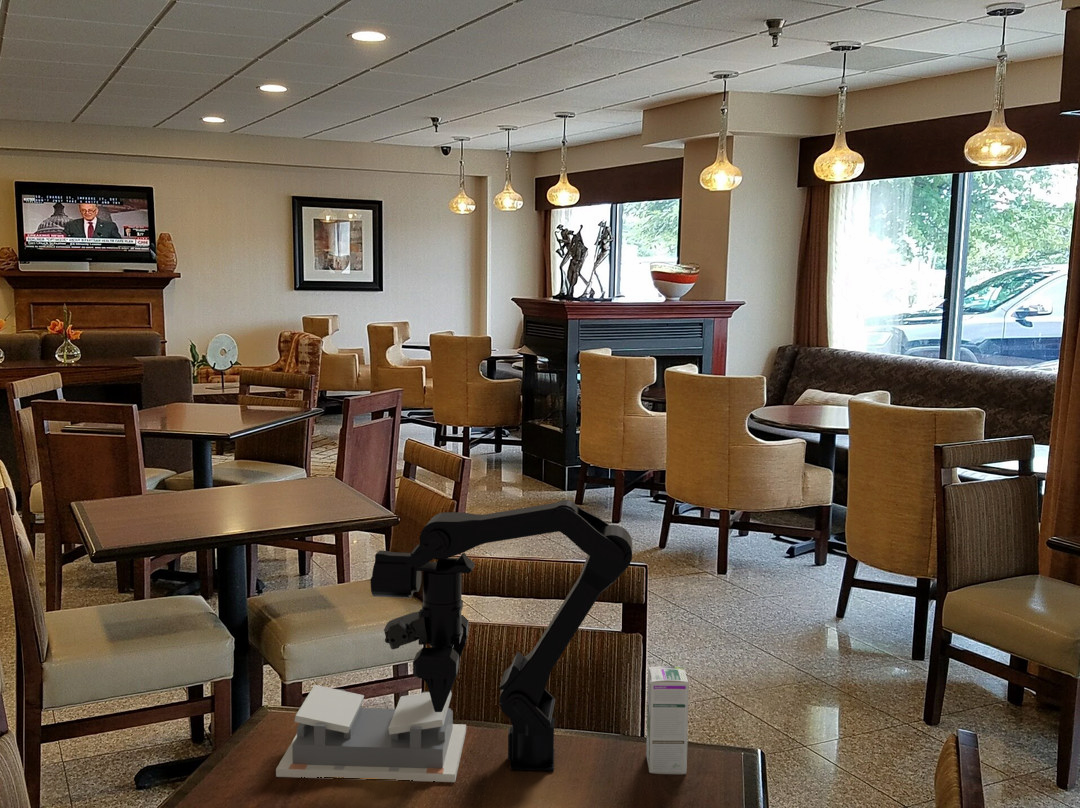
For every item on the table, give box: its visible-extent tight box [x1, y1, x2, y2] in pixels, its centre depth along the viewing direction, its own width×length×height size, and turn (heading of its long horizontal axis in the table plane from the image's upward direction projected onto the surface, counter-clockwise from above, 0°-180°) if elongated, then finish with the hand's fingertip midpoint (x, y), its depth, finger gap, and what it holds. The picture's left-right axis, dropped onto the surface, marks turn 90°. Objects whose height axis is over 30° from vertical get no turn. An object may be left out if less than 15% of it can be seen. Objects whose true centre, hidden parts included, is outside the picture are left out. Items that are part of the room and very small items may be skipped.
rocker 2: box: [388, 690, 453, 734], centre depth 149 cm, size 8×11×2 cm
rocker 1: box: [294, 684, 365, 733], centre depth 150 cm, size 8×11×2 cm
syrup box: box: [645, 665, 689, 775], centre depth 147 cm, size 6×6×14 cm
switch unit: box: [275, 688, 467, 783], centre depth 150 cm, size 26×16×7 cm, turn 89°
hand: (442, 698), depth 149 cm, fingers open, 9 cm apart
